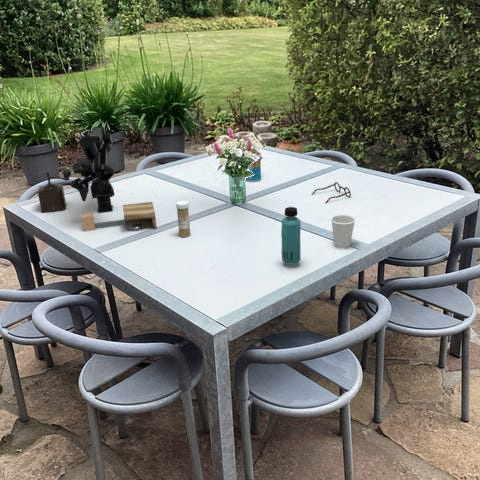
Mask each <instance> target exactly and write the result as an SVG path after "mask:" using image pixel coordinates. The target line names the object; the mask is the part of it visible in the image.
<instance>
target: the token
mask: <svg viewBox="0 0 480 480" xmlns="http://www.w3.org/2000/svg"><path fill="white" fill-rule="evenodd" d="M128 227H129V231H131V232H139V231H142V230H143V224H142V223H138V222H137V223H136V222H135V223H131V224H129V226H128Z"/></svg>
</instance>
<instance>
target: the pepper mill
mask: <svg viewBox="0 0 480 480" xmlns="http://www.w3.org/2000/svg"><path fill="white" fill-rule="evenodd" d="M61 173H62V175H63V177H61V176H54V175H53V176H51V175H50V172H48V171H47V172H46V173H45V174H46V176H45V177H46V178H47V182H48V183H47V184H45V185H41V186H39V188H38V191H37V195H38V201H39V206H40V210H41V213H42V214H44V213H54V212H61V211H64V210H66V209H67V201H66V196H65V190H64V189H65V188H64V185H63V183H60V184H59V183H58V184H57V183H53V182H52V183H51V179H54V180H56V179H57V180H64V181H65V182H67V181H70V176H72V171H71V170H70V169H68V168H66V169H65V168H64V169H63V170H62V172H61Z"/></svg>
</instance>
